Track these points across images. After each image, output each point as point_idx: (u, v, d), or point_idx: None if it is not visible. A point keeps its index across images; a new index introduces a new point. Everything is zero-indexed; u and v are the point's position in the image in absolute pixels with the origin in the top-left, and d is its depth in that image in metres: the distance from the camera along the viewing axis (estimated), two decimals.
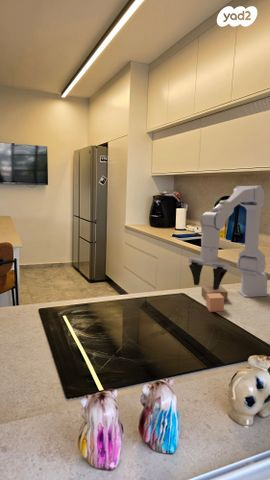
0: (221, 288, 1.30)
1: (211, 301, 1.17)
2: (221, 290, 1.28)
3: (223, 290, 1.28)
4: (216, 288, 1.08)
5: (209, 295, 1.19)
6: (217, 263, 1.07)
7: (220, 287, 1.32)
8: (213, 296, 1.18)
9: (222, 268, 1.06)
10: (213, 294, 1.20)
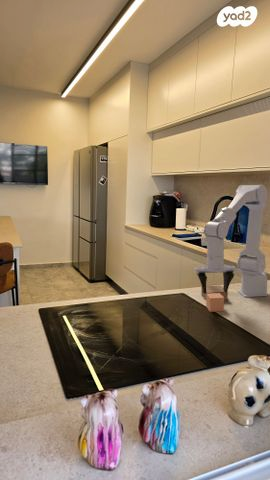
0: (221, 288, 1.30)
1: (211, 301, 1.17)
2: (221, 290, 1.28)
3: (223, 290, 1.28)
4: None
5: (209, 295, 1.19)
6: (228, 269, 1.16)
7: (220, 287, 1.32)
8: (213, 296, 1.18)
9: (232, 272, 1.17)
10: (213, 294, 1.20)
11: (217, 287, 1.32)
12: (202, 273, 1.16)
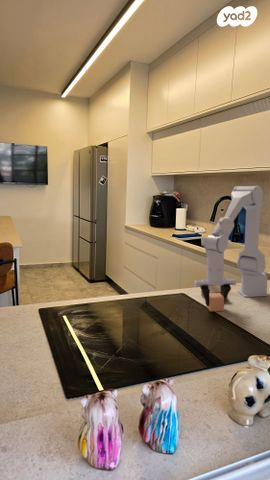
0: None
1: (211, 301, 1.16)
2: None
3: None
4: None
5: (209, 295, 1.19)
6: (228, 282, 1.17)
7: None
8: (213, 296, 1.18)
9: (229, 285, 1.18)
10: (213, 294, 1.20)
11: (217, 287, 1.32)
12: (205, 286, 1.17)
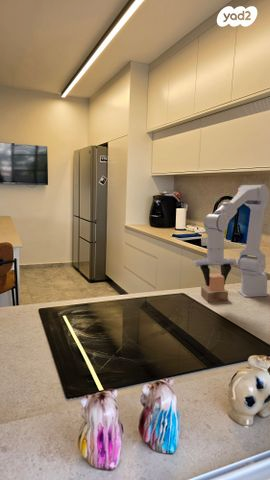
0: None
1: (211, 281, 1.15)
2: None
3: None
4: None
5: (209, 275, 1.18)
6: (229, 261, 1.15)
7: None
8: (213, 276, 1.17)
9: (229, 264, 1.16)
10: (213, 274, 1.19)
11: None
12: (205, 265, 1.16)
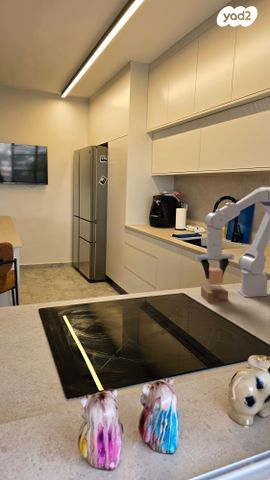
0: (221, 288, 1.31)
1: (211, 274, 1.26)
2: (221, 290, 1.28)
3: (223, 290, 1.28)
4: None
5: (209, 269, 1.29)
6: (227, 256, 1.26)
7: (220, 287, 1.32)
8: (213, 270, 1.28)
9: (227, 259, 1.27)
10: (213, 268, 1.30)
11: (217, 287, 1.32)
12: (205, 260, 1.27)
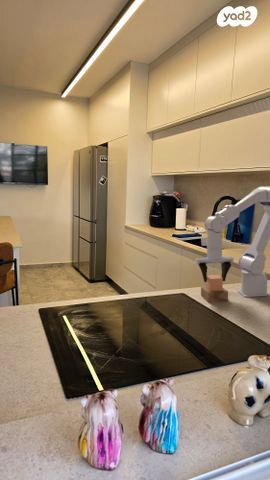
0: None
1: (211, 281, 1.27)
2: None
3: (223, 290, 1.28)
4: None
5: (209, 276, 1.29)
6: (227, 259, 1.27)
7: None
8: (212, 277, 1.28)
9: (229, 262, 1.28)
10: (212, 275, 1.30)
11: None
12: (203, 263, 1.27)
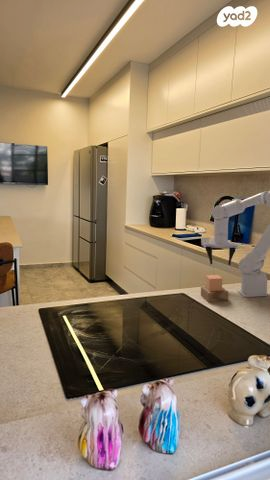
0: None
1: (210, 281, 1.27)
2: None
3: (223, 290, 1.28)
4: None
5: (208, 276, 1.30)
6: (231, 245, 1.39)
7: None
8: (212, 277, 1.28)
9: (235, 248, 1.39)
10: (212, 275, 1.31)
11: None
12: (209, 247, 1.43)
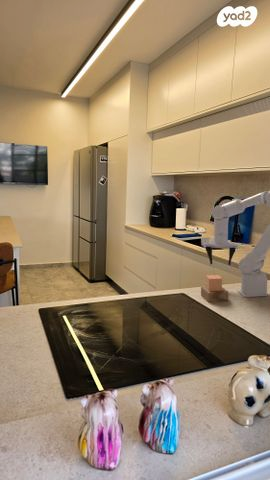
0: None
1: (210, 281, 1.27)
2: None
3: (223, 290, 1.28)
4: None
5: (208, 276, 1.30)
6: (231, 245, 1.39)
7: None
8: (212, 277, 1.28)
9: (235, 248, 1.39)
10: (212, 276, 1.30)
11: None
12: (209, 247, 1.43)
